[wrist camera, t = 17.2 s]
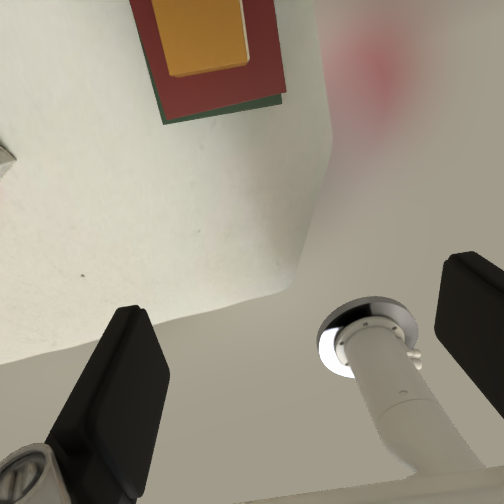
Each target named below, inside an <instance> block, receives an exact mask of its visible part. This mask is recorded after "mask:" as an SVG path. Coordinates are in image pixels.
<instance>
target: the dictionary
mask: <svg viewBox="0 0 504 504" xmlns="http://www.w3.org/2000/svg"><path fill="white" fill-rule="evenodd" d="M151 1H152V5H153V9H154V13H155V17H156V21H157V25H158V29H159V34H160V38H161V42H162V46H163V50H164V54H165V58H166V62H167V66H168V70H169V75H170V76H174V77H178V78H179V77H184V76H190V75H195V74H201V73H206V72H212V71H217V70H223V69H229V68H234V67H240V66H245V65H246V64H247V62H248V61H249V59H250V56H249V49H248V41H247V34H246V27H245V19H244V12H243V5H242V0H151Z"/></svg>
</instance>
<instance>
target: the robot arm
mask: <svg viewBox="0 0 504 504" xmlns="http://www.w3.org/2000/svg"><path fill="white" fill-rule="evenodd" d="M434 330H435V334H436V336H437V338H438V340H439V341H440V342H441V343H442V344H443V345H444V347H445V348H446V349H447V351H448V352H449V353H450V354H451V355H452V357H453V358H454V359H455V360H456V362H457V363H458V364H459V365H460V366H461V368H462V369H463V370H464V371H465V372H466V374H467V375H468V376H469V377H470V378H471V380H472V381H473V382H474V383H475V385H476V386H477V387H478V388H479V389H480V391H481V392H482V393H483V394H484V396H485V397H486V398H487V399H488V400H489V402H490V403H491V404H492V405H493V406H494V408H495V409H496V410H497V411H498V413H499V414H500V415H501V416H502V417H503V419H504V271H503V270H502V269H500V268H498V267H497V266H496V265H494V264H493V263H491V262H490V261H488V260H487V259H485V258H483V257H482V256H480V255H479V254H477V253H475V252H474V251H469V252H463V253H457V254H452V255H450V257H449V258H448V260H446V261H445V262H444V265H443V271H442V277H441V284H440V291H439V298H438V306H437V312H436V318H435V325H434ZM404 342H405V337H404V333H403V331H402V329H401V328H400V326H399V325H398V324H397V323H396V322H395V321H393V320H391V319H389V318H386V317H382V316H370V317H364V318H361V319H358V320H356V321H354V322H352V323H350V324H349V325H348V326H346V327H345V328H344V329H343V330H342V331H341V332H340V334H339V335H338V337H337V339H336V341H335V353H336V356H337V358H338V360H339V362H340V363H341V364H342V365H343V366H345V367H347V368H349V369H351V370H352V372H353V375H354V377H355V380H356V382H357V384H358V387H359V389H360V391H361V394H362V396H363V398H364V401H365V403H366V406H367V408H368V411H369V413H370V415H371V418H372V420H373V423H374V425H375V427H376V430H377V432H378V434H379V437H380V439H381V441H382V443H383V445H384V446H385V448H386V449H387V450H388V452H389V453H390V454H391V455H392V456H393V457H394V458H396V460H398V461H399V462H401V463H402V464H403V465H405V466H406V467H408V468H409V469H411V470H413V471H414V472H416V473H415V474H414V475H411V476H409V477H407V478H406V479H403V480H396V481H389V482H382V483H374V484H368V485H360V486H353V487H346V488H339V489H332V490H325V491H318V492H311V493H303V494H296V495H290V496H283V497H276V498H269V499H262V500H255V501H248V502H242V503H235V504H504V466H498V467H491V468H486V467H485V465H484V464H483V463H482V462H481V461H480V459H479V458H478V457H477V456H476V454H474V452H473V450H472V449H471V448H470V447H469V445H468V444H467V443H466V441H465V440H464V439H463V437H462V436H461V435H460V433H459V432H458V430H457V429H456V427H455V426H454V424H453V423H452V421H451V420H450V418H449V417H448V415H447V414H446V412H445V411H444V409H443V408H442V406H441V405H440V403H439V402H438V400H437V399H436V397H435V396H434V394H433V393H432V391H431V390H430V388H429V387H428V385H427V384H426V382H425V380H424V379H423V378H422V376H421V374H420V373H419V371H418V370H419V369H421V368H422V362H421V360H420V359H416V358H409V356H413V357H420V356H421V351H420V350H419V349H409V348H408V347H407V346H406V344H405V343H404ZM169 380H170V371H169V367H168V365H167V362H166V360H165V357H164V355H163V352H162V349H161V347H160V345H159V342H158V339H157V337H156V334H155V332H154V329H153V327H152V324H151V322H150V319H149V317H148V314H147V312H146V310H145V309H140V307H139V306H138V305H132V306H126V307H120V308H118V309H117V310H116V311H115V313H114V315H113V317H112V319H111V321H110V322H109V324H108V326H107V328H106V330H105V332H104V333H103V335H102V337H101V339H100V341H99V343H98V344H97V347H96V348H95V350H94V352H93V354H92V355H91V357H90V359H89V361H88V363H87V365H86V366H85V368H84V370H83V372H82V374H81V376H80V378H79V379H78V381H77V383H76V385H75V387H74V389H73V390H72V392H71V394H70V396H69V398H68V400H67V401H66V403H65V405H64V407H63V409H62V411H61V413H60V414H59V416H58V418H57V420H56V422H55V423H54V425H53V427H52V429H51V431H50V433H49V435H48V437H47V439H46V441H45V442H44V443H33V444H30V445H27V446H24V447H22V448H20V449H18V450H16V451H15V452H13V453H11V454H10V455H9V456H7V457H6V458H5V459H3V461H1V462H0V504H136V501H137V498H139V497H141V496H142V495H143V493H144V490H145V486H146V481H147V477H148V473H149V468H150V464H151V460H152V455H153V451H154V446H155V442H156V437H157V433H158V429H159V424H160V420H161V416H162V411H163V407H164V402H165V398H166V394H167V389H168V385H169Z"/></svg>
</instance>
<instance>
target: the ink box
mask: <svg viewBox="0 0 504 504" xmlns="http://www.w3.org/2000/svg"><path fill="white" fill-rule="evenodd" d="M15 162H16V160H15V159H14V158H13V157H12V156H11V155H10V154H9V153H8V152H7V151H6V150H5V149H3V148H2V147H1V146H0V180H1V179H2V178H3V176H4V175H5V174H6V173H7V171H8V170H9V169H10V168H11V167H12V165H13V164H14V163H15Z"/></svg>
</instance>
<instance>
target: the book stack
mask: <svg viewBox="0 0 504 504" xmlns="http://www.w3.org/2000/svg"><path fill="white" fill-rule="evenodd" d="M129 1H130V5H131V8H132V12H133V15H134V19H135V23H136V26H137V30H138V34H139V37H140V41H141V45H142V49H143V52H144V56H145V60H146V63H147V67H148V71H149V74H150V78H151V82H152V85H153V89H154V93H155V97H156V100H157V104H158V108H159V111H160V115H161V119H162V122H163V125H166V124H172V123H177V122H183V121H188V120H194V119H200V118H205V117H211V116H217V115H222V114H228V113H234V112H239V111H245V110H251V109H256V108H262V107H268V106H273V105H279V104H282V97H281V93H284V92H286V85H285V78H284V71H283V64H282V57H281V50H280V43H279V36H278V29H277V22H276V15H275V8H274V1H273V0H242V5H243V12H244V19H245V27H246V34H247V41H248V49H249V56H250V59H249V61H248V62H247V64H246V65H245V66H240V67H234V68H229V69H223V70H217V71H212V72H206V73H201V74H195V75H190V76H184V77H179V78H178V77H174V76H170V75H169V70H168V66H167V62H166V58H165V54H164V50H163V46H162V42H161V38H160V34H159V29H158V25H157V21H156V17H155V13H154V9H153V5H152V1H151V0H129Z"/></svg>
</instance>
